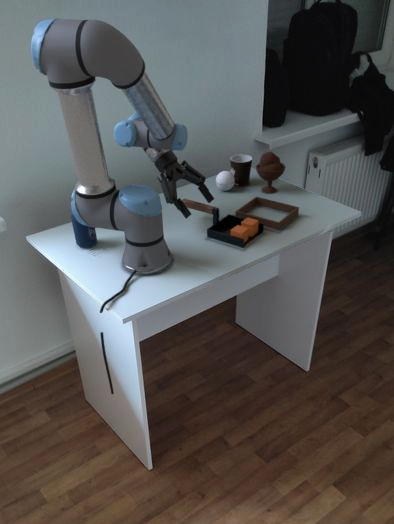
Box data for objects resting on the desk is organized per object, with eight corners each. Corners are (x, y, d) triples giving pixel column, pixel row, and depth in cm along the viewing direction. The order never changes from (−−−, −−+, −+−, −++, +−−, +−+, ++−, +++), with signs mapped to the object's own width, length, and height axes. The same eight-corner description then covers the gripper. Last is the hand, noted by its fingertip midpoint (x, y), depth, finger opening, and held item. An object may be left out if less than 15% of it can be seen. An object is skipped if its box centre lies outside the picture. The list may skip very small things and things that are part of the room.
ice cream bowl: (283, 196, 191) (286, 156, 181) (253, 195, 193) (255, 156, 183) (284, 185, 199) (287, 146, 189) (255, 184, 201) (257, 146, 191)
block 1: (230, 241, 165) (230, 230, 162) (237, 236, 167) (237, 224, 164) (241, 245, 163) (241, 233, 160) (248, 239, 165) (248, 227, 162)
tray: (235, 220, 178) (235, 211, 175) (255, 205, 186) (256, 196, 184) (278, 232, 170) (279, 223, 167) (298, 216, 178) (299, 207, 176)
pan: (172, 228, 175) (170, 206, 170) (194, 213, 183) (193, 192, 178) (243, 250, 162) (243, 227, 157) (263, 233, 170) (264, 211, 165)
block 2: (240, 233, 168) (241, 222, 166) (247, 228, 171) (247, 217, 168) (251, 236, 167) (252, 225, 164) (258, 231, 169) (258, 220, 166)
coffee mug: (252, 187, 199) (253, 162, 192) (230, 188, 199) (230, 162, 192) (250, 176, 207) (251, 151, 201) (229, 176, 208) (229, 152, 201)
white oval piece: (211, 189, 198) (211, 171, 194) (226, 184, 202) (226, 166, 197) (228, 197, 192) (228, 178, 187) (242, 192, 195) (243, 173, 191)
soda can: (97, 248, 166) (91, 214, 158) (76, 250, 165) (69, 216, 158) (97, 238, 171) (91, 205, 163) (77, 240, 171) (70, 207, 163)
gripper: (143, 162, 158) (184, 217, 161) (190, 138, 173) (226, 189, 176) (132, 175, 164) (172, 228, 167) (178, 151, 179) (214, 200, 182)
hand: (200, 208), depth 171 cm, fingers open, 13 cm apart
